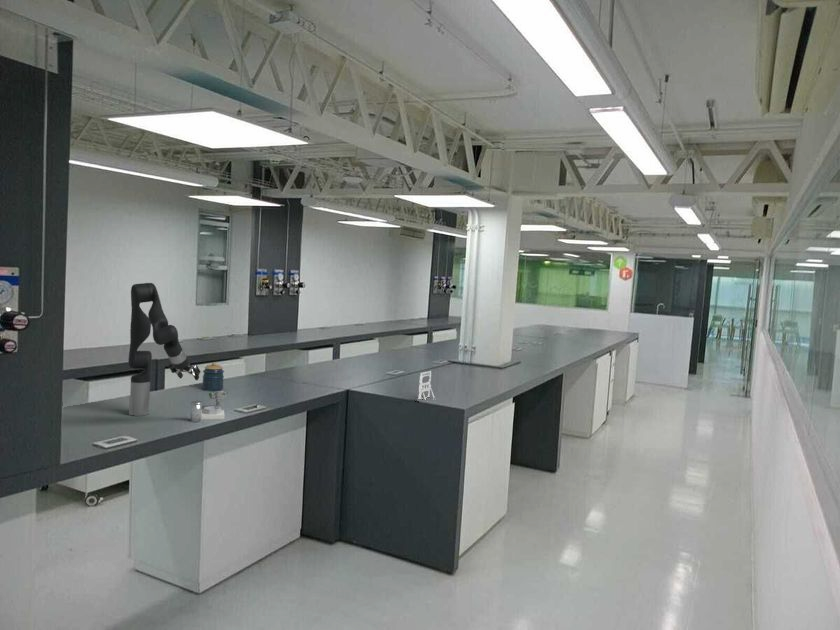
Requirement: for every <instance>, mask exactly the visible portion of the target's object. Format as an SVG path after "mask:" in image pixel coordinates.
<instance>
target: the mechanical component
mask: <svg viewBox="0 0 840 630" xmlns="http://www.w3.org/2000/svg"><path fill="white" fill-rule="evenodd" d="M227 395H228V391H226V390H219V391H215V392H214V393H213V391H210V392H209V393H208V396H209V398H210V399H211V400H215V402H216V405H215V406H217V407H220V402H221V399H222V400H223V399H226V398H227Z"/></svg>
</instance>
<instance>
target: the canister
mask: <svg viewBox="0 0 840 630" xmlns="http://www.w3.org/2000/svg"><path fill="white" fill-rule="evenodd" d="M223 369H224V367H223V366H221V365H219V364H217V363H216V361H214V362H212V363H211V364H207V365H206V366H204V369H203V371H202V372H203V375H202V385H201V386H202V390H203V389H204V390H203V391H207V390H211V391H210V392H216V391H217V390H219V391H223V390H224V378H225V377H224V373H225V370H223Z"/></svg>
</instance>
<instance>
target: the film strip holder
mask: <svg viewBox="0 0 840 630" xmlns="http://www.w3.org/2000/svg"><path fill="white" fill-rule="evenodd" d="M424 377H428V378H429V379H428V381H427V382H423V378H424ZM431 381H432V370H429V371H424V372H420V374H419V385H418V395H417V397H418V398H417V399H423V398H424V399H425V400H426V398H427V397H430V396H431V395H432V398H433V399H434V398H435V395H434V392H433V389H432V384H431V383H432V382H431ZM425 392H427V396H426V395H425ZM422 395H423V397H422ZM427 399H428V398H427Z"/></svg>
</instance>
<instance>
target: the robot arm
mask: <svg viewBox="0 0 840 630" xmlns="http://www.w3.org/2000/svg"><path fill="white" fill-rule="evenodd" d="M130 302H131V303H130V305H131V306H130V307H131V315H130V316H131V317H130V330H129V333H130V334H129V335H130V338H129V339H130V340H129V341H130V343H129V352H128V367H129V368H131V369H135V370H136V369H138V370H139V369H143V371H142V370H141V372H138V373H136V374H133V375H131V377H130V394H129V404H128V409H129V410H128V415H129V416H133V415H134V416H135V417H136V416H137V417H142V416H147V415H149V414H150V396H151V394H150V393H151V372H152V370H151V369H152V362H153V360H152V359H153V356H152V352H151V351H150V350H138V349H139V348H140V346H142V344H143V343H145V341H146V340H147V339H148V338H149V336H150V334H151V331H152V338H153V341H154V343H155V344H157V345H159V346H163V350H164V351H165V353H166V355H167V357H168V359H169V361H170V362H169V365H168V368H169V370H170V372H171V373H173V374H174V373H175V375H177V377H178V378H179V379H183V376H184V374H183V373H184V372H185V373H187V374H189V375H191V376H193V378H194V380H195V381H198V380H199V378H200V374H201V372H202V371H201V370H200V368H199V367H198V365H197V364H194V365H192V364H191V363H190V359H189V357H188V356H187V353H186V351H185V350H184V349H183V347H182V346H181V343H180V341H179V340H180V339H179V333H178V328H177V327H176V326H174V325H173V324H169V320H168V318H167V316H166V314H165V313H164V309H163V307H162V303H161V299H160V296H159V292H158V289H157V287H156V285H155V283H152V282H143V283H142V282H141V283H135V284H133V285H131V289H130ZM151 302H152V304H151V306H150V308H149V310H148V316H147V314H146V313H145V312H144V311H143V309H142V308H141V306H140V305H141V303H151ZM151 328H152V330H151ZM182 372H183V373H182Z"/></svg>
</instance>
